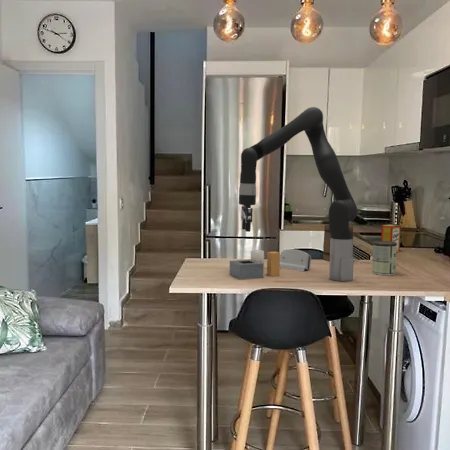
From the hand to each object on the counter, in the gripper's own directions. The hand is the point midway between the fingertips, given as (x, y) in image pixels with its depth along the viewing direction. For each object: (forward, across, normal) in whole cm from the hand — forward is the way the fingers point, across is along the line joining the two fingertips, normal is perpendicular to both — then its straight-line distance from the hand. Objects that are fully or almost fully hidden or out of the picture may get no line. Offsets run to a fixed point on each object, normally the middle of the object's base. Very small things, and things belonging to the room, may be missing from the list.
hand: (246, 230), depth 211 cm
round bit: (+19, +4, -6) cm, 20 cm away
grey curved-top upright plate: (+19, +8, -25) cm, 32 cm away
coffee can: (+18, -7, -62) cm, 65 cm away
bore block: (+19, -8, +1) cm, 21 cm away
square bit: (+19, -7, -12) cm, 23 cm away
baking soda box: (+17, +54, -96) cm, 111 cm away
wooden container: (+18, +30, -54) cm, 65 cm away
